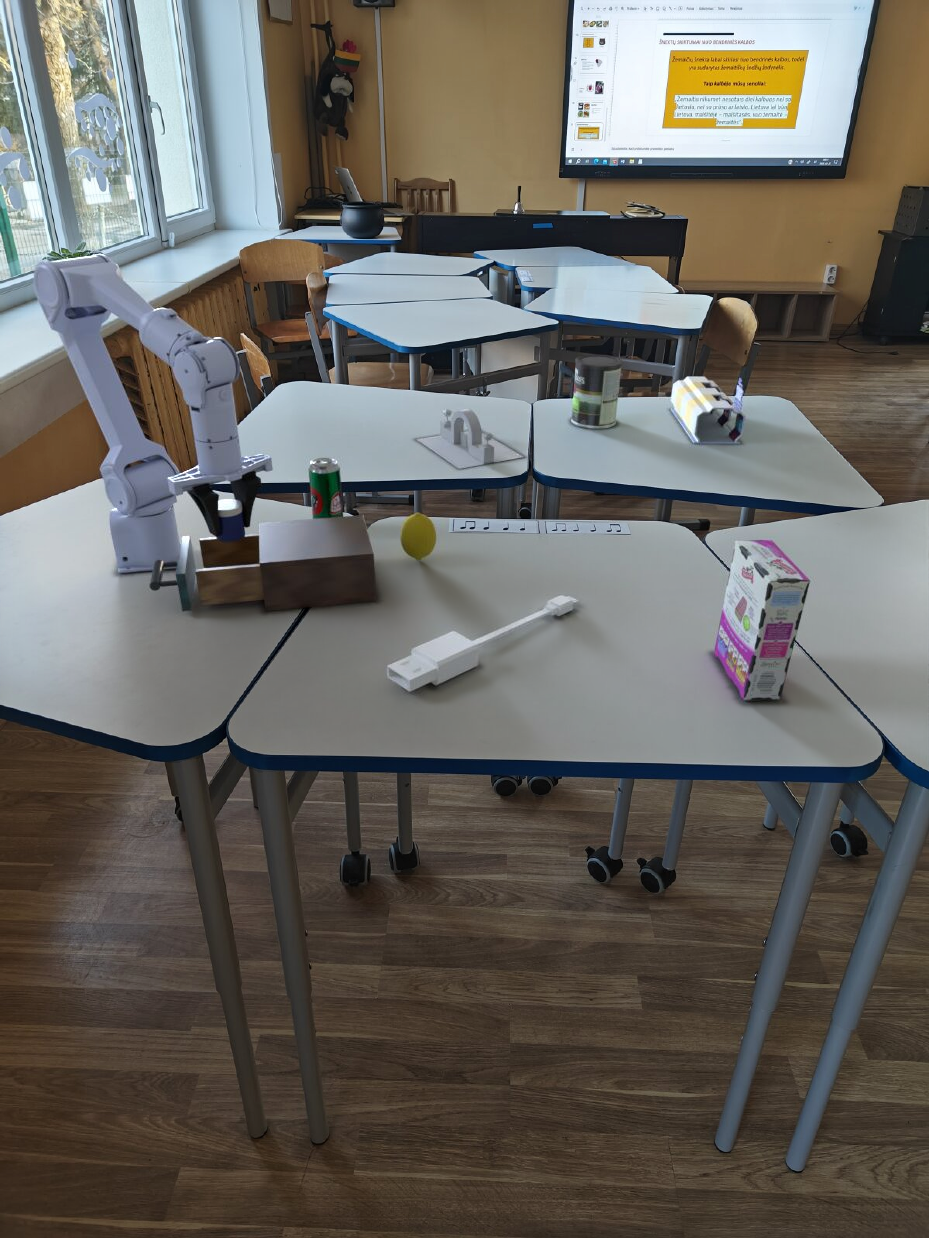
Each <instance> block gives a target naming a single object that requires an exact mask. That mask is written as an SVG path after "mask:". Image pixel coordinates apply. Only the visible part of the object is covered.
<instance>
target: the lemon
mask: <svg viewBox="0 0 929 1238" xmlns="http://www.w3.org/2000/svg"><path fill="white" fill-rule="evenodd" d="M436 542H437V531H436V527H435V523H434V522H433V521H432V519H430V518H429V516H427V515H425V514H422V513H421V512H415V513H414V514H411V515H409V516H408V517H407V518H405V520H404V521H403V523H402V525H401V529H400V544H401V547H402V549H403V551H404V553H406V554H407V555H408V556H409V557H411V558H412V559H413V558H414V559H415V560H416V561H422V559H424V558H427V557H428V556H430V554H431V553H433V551H434V549H435V547H436Z"/></svg>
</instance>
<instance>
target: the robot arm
mask: <svg viewBox="0 0 929 1238" xmlns="http://www.w3.org/2000/svg"><path fill="white" fill-rule="evenodd" d="M34 268H35V269H34V272H33V284H32V289H33V292H34V294H35V297H36V298H37V302H38V303H39V305H40V308H41V310H42V312H43V315H44V317H45V319H46V321H47V324H48V325H49V327H50V329H51V330H52V331H54V332H57V334H58V336H59V338H60V340H61V342H62V344H63V347H64V350H65V352H66V354H67V356H68V358H69V360H70V362H71V365H72V367H73V369H74V371H75V374H76V376H77V379H78V381H79V383H80V385H81V388H82V389H83V392H84V394H85V396H86V398H87V401H88V403H89V406H90V408H91V409H92V413H93V414H94V417H95V419H96V421H97V423H98V425H99V428H100V430H101V432H102V434H103V436H104V438H105V441H106V444H107V445H108V448H109V451H108V453H107V454H106V456H105V458H104V460H103V462H102V463H101V465H100V467H99V471H100V474H101V476H102V480H103V484H104V490H105V495H106V497H107V499H108V501H109V503H110V504H111V505H112V507H113V508H112V509H110V511H109V519H108V520H109V521H108V522H109V531H110V536H111V540H112V545H113V549H114V554H115V559H116V564H117V572H118V573H119V574H124V573H136V572H148V571H153V567H154V563H155V561H156V560H162V561H163V562H176V561H178V557H179V551H180V545H181V540H180V534H179V529H178V524H177V519H176V513H175V508H174V504H176V503H178V499H177V497H178V496H181V495H183V494H184V493H185V492H186V493H187V494H188V495H189V497H190V498H191V499H192V500H193V502H194V503H195V505H196V506H197V508H198V510H199V511H200V513H201V515H202V517H203V519H204V521H205V524H206V526H207V529H208V532H209V534H211V535H212V536H213V537H218V536H221V527H220V522H219V515H218V501H219V500H220V494H218V493H216V492H215V491H214V489H213V487H212V486H211V485H214V484H218V483H219V484H220V483H223V482H226V481H227V482H229V483H230V487H231V490H232V494H233V497H234V498H233V499H235V500H239V501H240V502H241V503H242V513H243V520H244V528H245V529H247V528H250V527H251V520H252V515H253V509H254V504H255V501H256V498H257V495H258V493H259V491H260V489H261V487H262V478H261V477H259V476H257V473H260V472H266V473H267V472H271V471H273V469H274V467H273V462H272V461H273V460H272V457H271V456H270V455H267V454H265V453H262V454H261V453H260V454H257V455H250V456H242V451H241V443H240V436H239V427H238V420H237V413H236V403H235V397H234V389H233V383H235V382H236V381H237V380H238V378H239V375H240V372H241V367H240V366H241V365H240V360H239V356H238V355H237V352H236V350H235V349H234V348H233V346H232V345H231V344H230V343H229V342H228V341H227V339H226V338H223V337H213V338H212V337H210V336H205V335H203V334H202V333H201V332H200V331H199V330H198V329H196V328H194V327H193V326H192V325H190V324H189V323H188V322H186V321H185V320H184V319H182V318H181V317H180V316H178V313H177V312H176V311H175V310H174V309H173V308H165V307H160V308H156V309H155V308H154V307H153V306H152V305H151V304H150V303H149V302H148V301H147V300H146V299H145V298H143V297H142V296H141V295H140V294H139V293H138V292H137V291H136V290H135V289H134V288H132V286H130V285H129V284H128V283H127V282H126V281H125V280H124V277H123V274H122V271H121V267H119V265H118V264H117V263H115V262H113V261H112V259H111V258H110V257H108V256H107V255H105V254H103V253H96V254H94V255H90V256H81V257H74V258H67V259H59V260H51V261H49V260H41V261H39V262H38V263H36V266H35V267H34ZM111 314H113V315H115V316H116V317H118V318H119V319H120V320H122V321H123V322H125V323H126V324H128V325H129V326H131V327H132V328H134V329H136V330H137V331H139V332H138V334H139V340H140V342H141V344H142V345H143V346H144V347H145V348H146V349H148V350H149V351H150V352H151V353H152V354H154V355H155V356H156V357H158V358H159V359H160V360H162V362H164V363H165V364H166V365H168V366H169V367H171V369H172V372H173V375H174V378H175V380H176V382H177V384H178V385H179V387H180V390H181V391H182V397H183V400H184V402H185V404H186V405H187V406H188V407H189V413H190V414H189V415H190V420H191V428H192V433H193V440H194V447H195V452H196V459H197V466H194V467H193V468H190V469H189V470H186V471H184V472H181V473H180V470H179V468H178V467H177V465H176V464H175V463H174V462H173V461H172V459H171V458H170V456H169V454H168V452H167V450H166V448H165V446H163V445H161V444H159V443H156V442H155V441H152V440H150V439H147V438H146V437H145V434H144V432H143V429H142V427H141V426H140V423H139V420H138V418H137V416H136V414H135V411H134V409H133V407H132V404H131V401H130V399H129V397H128V395H127V392H126V389H125V388H124V385H123V383H122V381H121V379H120V376H119V374H118V371H117V370H116V367H115V365H114V363H113V360H112V358H111V356H110V353H109V351H108V349H107V347H106V343H105V342H104V339H103V337H102V334H101V330H102V327H103V324H104V323H105V322H106V321H108V320H109V318H110V317H111ZM138 461H144V462H141V463H138V464H135V465H133V466H130V467H127V466H128V465H129V464H132V463H135V462H138ZM126 467H127V468H126ZM170 569H177V567H167V568H164V570H170Z"/></svg>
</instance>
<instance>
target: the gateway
mask: <svg viewBox="0 0 929 1238" xmlns="http://www.w3.org/2000/svg"><path fill="white" fill-rule="evenodd" d="M442 412H443V415H444V417H446V419H444V420H440V421H439V436H441V437H442V438H444V439H445V440H447V441H448V442H450V443H452V444H453V445H457V444H460V445H462V446H464V447H465V448H468V454H469V455H470V456H471V457H473V458H475V459H476V460H478V461H479V462H481V463H482V464H483V465H489V464H495V463H496V462H495V446H494V445H492V444H491V443H489V441H491V440H492V438H493V437H494V435H493V434H492V433H491V432H489V431H488V432H483V431H482V426H481V423H480V420H479V417H478V416H477V414H476V413H475V411H474V410H472V409H469V408H468V409H459V410H456V411H454V413H453V411H452V410H451V409H449V408H447V409H443V410H442ZM452 413H453V414H452ZM451 415H452V416H451ZM449 417H451V419H449ZM464 424H465V425H466V427H467V430H466V431H467V432H468V434H467V433H465V429H464V426H465V425H464ZM483 439H484V440H485V441H486V443H484V444H483Z"/></svg>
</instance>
